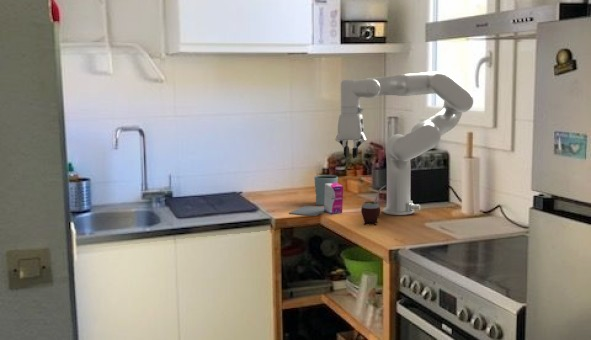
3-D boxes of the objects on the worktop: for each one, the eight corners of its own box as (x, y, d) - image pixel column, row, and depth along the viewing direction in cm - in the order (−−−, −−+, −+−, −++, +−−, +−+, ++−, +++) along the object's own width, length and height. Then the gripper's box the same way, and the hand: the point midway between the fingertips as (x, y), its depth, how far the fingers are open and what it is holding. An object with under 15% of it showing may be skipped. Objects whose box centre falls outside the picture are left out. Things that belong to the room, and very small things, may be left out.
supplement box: (330, 214, 262) (330, 186, 259) (323, 210, 267) (324, 183, 265) (342, 212, 264) (343, 185, 262) (336, 208, 270) (337, 182, 267)
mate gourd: (357, 223, 247) (357, 184, 244) (374, 220, 251) (374, 182, 248) (369, 227, 240) (369, 187, 238) (386, 224, 244) (386, 184, 242)
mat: (331, 208, 272) (331, 207, 272) (315, 216, 259) (315, 215, 259) (305, 206, 278) (305, 205, 278) (288, 213, 265) (288, 212, 265)
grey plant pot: (310, 203, 283) (309, 176, 282) (328, 200, 289) (327, 173, 287) (324, 207, 275) (324, 179, 274) (342, 203, 281) (342, 176, 279)
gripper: (373, 110, 255) (373, 157, 258) (335, 110, 263) (336, 155, 265) (366, 112, 249) (366, 159, 251) (327, 111, 256) (328, 157, 259)
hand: (350, 156), depth 258 cm, fingers open, 2 cm apart
